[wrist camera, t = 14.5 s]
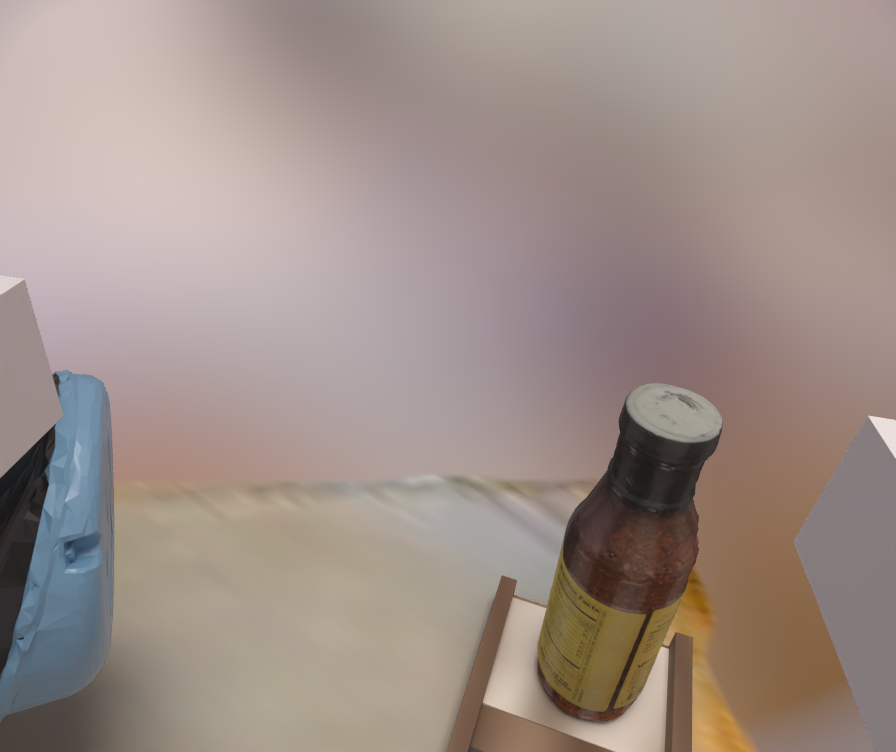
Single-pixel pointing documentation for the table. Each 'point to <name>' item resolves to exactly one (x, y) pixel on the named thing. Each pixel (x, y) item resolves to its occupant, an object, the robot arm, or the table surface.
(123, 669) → the table surface
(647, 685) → the trap channel board
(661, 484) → the sauce bottle
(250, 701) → the table surface
